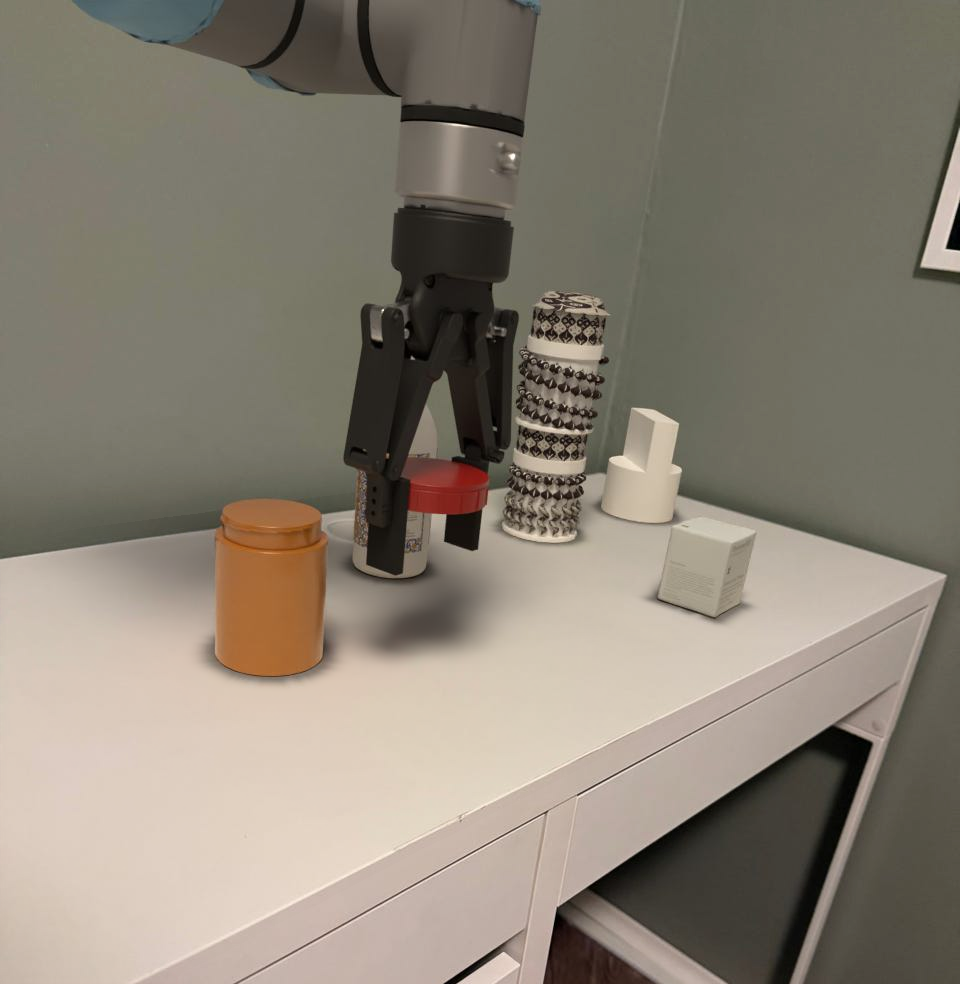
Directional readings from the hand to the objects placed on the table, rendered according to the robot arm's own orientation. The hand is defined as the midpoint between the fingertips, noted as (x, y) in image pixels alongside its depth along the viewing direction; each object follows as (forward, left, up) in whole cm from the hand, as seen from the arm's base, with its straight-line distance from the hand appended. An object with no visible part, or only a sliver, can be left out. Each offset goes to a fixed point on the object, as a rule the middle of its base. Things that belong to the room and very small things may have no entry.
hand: (424, 556), depth 66 cm
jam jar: (-7, -8, -8) cm, 13 cm away
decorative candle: (-12, +36, -8) cm, 39 cm away
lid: (0, 0, +6) cm, 6 cm away
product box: (+10, +30, -8) cm, 33 cm away
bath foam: (-14, +13, -8) cm, 21 cm away
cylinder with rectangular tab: (-9, +54, -8) cm, 55 cm away
